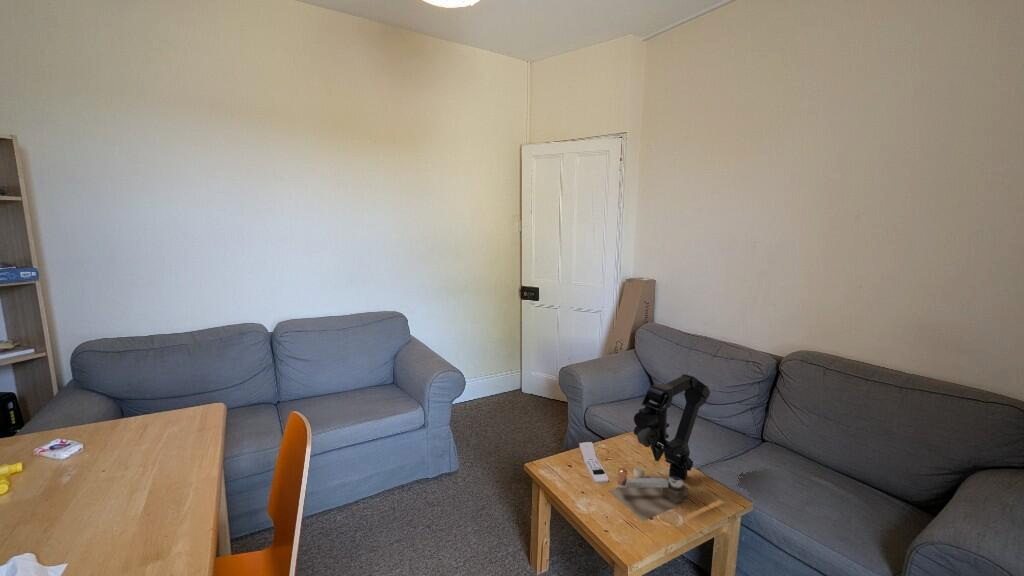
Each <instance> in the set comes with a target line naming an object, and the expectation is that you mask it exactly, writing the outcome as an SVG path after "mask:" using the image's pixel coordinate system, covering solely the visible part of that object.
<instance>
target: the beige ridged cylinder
mask: <svg viewBox="0 0 1024 576" xmlns="http://www.w3.org/2000/svg"><path fill="white" fill-rule="evenodd" d="M645 476H646V475H645V469H644V468H643V467H641V466H636V467H634V468H633V476H632V478H644V477H645Z"/></svg>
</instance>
